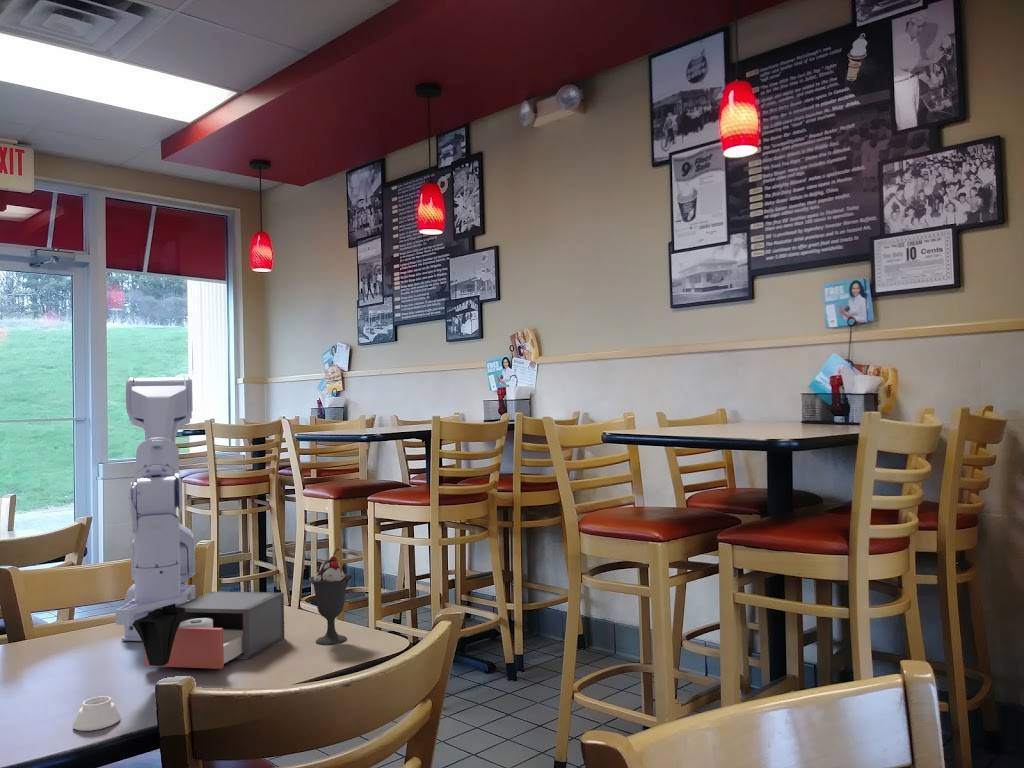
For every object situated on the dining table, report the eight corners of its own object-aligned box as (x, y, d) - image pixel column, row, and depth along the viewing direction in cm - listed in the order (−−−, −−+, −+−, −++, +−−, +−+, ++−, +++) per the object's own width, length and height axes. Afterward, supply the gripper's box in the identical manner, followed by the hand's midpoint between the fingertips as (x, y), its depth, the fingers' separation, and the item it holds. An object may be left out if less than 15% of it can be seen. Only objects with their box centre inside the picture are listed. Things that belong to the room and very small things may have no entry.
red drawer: (145, 665, 115) (144, 627, 115) (189, 644, 126) (188, 609, 126) (220, 668, 113) (220, 629, 113) (258, 646, 123) (258, 610, 123)
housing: (172, 656, 122) (171, 607, 122) (212, 636, 133) (211, 591, 133) (249, 659, 120) (248, 609, 120) (284, 638, 130) (283, 592, 131)
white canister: (172, 660, 116) (172, 624, 116) (193, 650, 120) (192, 616, 120) (200, 661, 115) (199, 625, 115) (219, 652, 119) (219, 617, 119)
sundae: (347, 646, 125) (345, 549, 125) (305, 647, 125) (303, 551, 125) (356, 634, 131) (354, 542, 132) (316, 635, 132) (314, 544, 132)
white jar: (122, 727, 95) (118, 714, 99) (121, 702, 95) (118, 690, 99) (74, 737, 92) (72, 723, 96) (74, 711, 92) (72, 698, 97)
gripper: (149, 575, 101) (151, 683, 101) (213, 554, 116) (215, 649, 115) (100, 575, 103) (102, 681, 102) (170, 554, 117) (171, 647, 116)
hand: (158, 664), depth 109 cm, fingers closed
